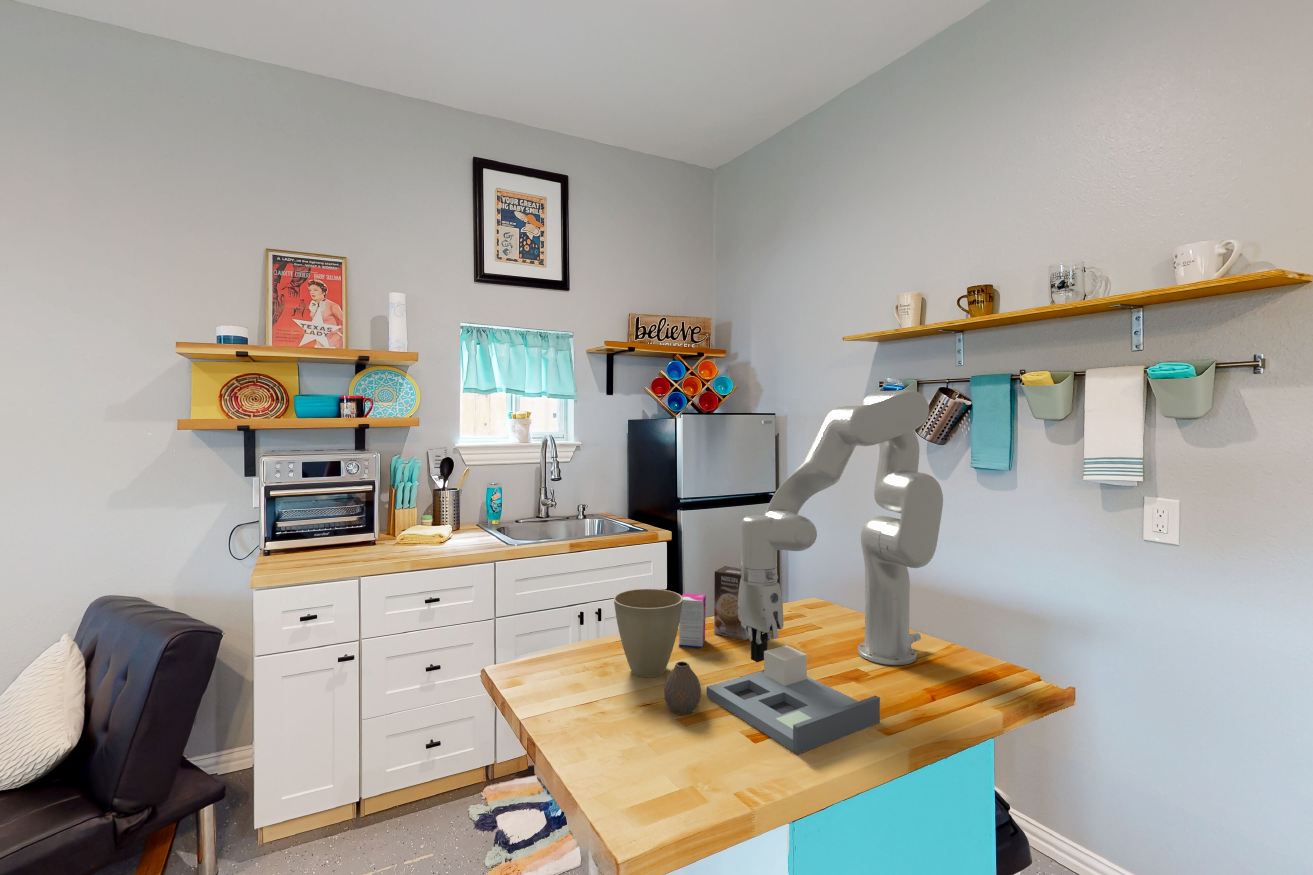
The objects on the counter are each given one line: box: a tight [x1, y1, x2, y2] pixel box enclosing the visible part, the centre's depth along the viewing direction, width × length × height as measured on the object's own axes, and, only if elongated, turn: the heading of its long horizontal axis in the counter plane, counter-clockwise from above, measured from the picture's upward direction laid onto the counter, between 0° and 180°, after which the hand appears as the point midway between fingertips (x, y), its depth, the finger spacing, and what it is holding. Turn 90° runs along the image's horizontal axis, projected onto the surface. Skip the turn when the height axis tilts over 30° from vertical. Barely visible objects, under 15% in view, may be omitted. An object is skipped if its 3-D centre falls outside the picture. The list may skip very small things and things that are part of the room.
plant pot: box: [613, 588, 683, 678], centre depth 137 cm, size 15×15×16 cm
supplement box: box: [678, 593, 707, 649], centre depth 152 cm, size 6×6×12 cm
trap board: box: [706, 669, 881, 755], centre depth 118 cm, size 20×25×4 cm
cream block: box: [763, 644, 808, 686], centre depth 128 cm, size 6×6×5 cm
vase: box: [663, 661, 702, 716], centre depth 118 cm, size 7×7×9 cm
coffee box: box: [713, 565, 749, 641], centre depth 159 cm, size 9×6×16 cm
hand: (759, 659), depth 135 cm, fingers closed
